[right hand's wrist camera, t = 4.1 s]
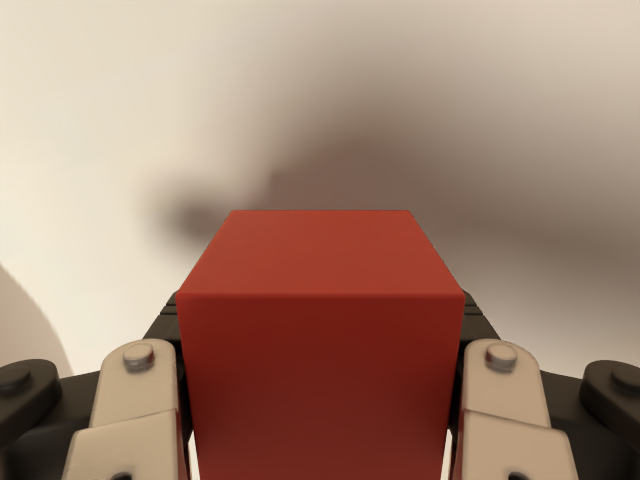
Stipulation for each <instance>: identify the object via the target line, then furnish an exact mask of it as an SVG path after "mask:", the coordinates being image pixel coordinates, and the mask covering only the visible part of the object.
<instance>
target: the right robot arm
mask: <svg viewBox="0 0 640 480" xmlns="http://www.w3.org/2000/svg"><path fill="white" fill-rule="evenodd" d="M462 291H463V292H464V294H465V297H466V298H465V306H464V313H463V320H462V327H461V334H460V342H459V349H458V356H457V363H456V370H455V378H454V385H453V392H452V399H451V407H450V414H449V421H448V428H447V429H450V431H451V434H452V443H451V449H450V460H449V473H448V480H640V368H638V367H636V366H633V365H630V364H626V363H623V362H618V361H610V360H600V361H594V362H592V363H590V364H588V365H587V366H586V368H585V371H584V375H583V379H578V378H573V377H568V376H563V375H558V374H553V373H549V372H545V371H542V370H539V365H538V362H537V361H536V359H535V358H534V357H533V356H532V355H531V354H530V353H529V352H528V351H526V350H525V349H523V348H522V347H520V346H518V345H515V344H513V343H510V342H507V341H503V340H501V339H500V337H499V336H498V335H497V333H496V332H495V330H494V329H493V327H492V326H491V324H490V323H489V321H488V320H487V319H486V317H485V316H483V313H482V311H481V310H480V308H479V307H477V304H476V303H475V301H474V300H473V298H472V297H471V295H470V294H469V293H467V292H466V291H464V290H463V289H462ZM177 292H178V291H176V292H175V293H173V294H172V296H171V297H170V299H169V300H168V302H167V303H166V306H164V308H163V309H162V311H161V312H160V315H158V316H157V318H156V319H155V321H154V322H153V324H152V325H151V327H150V328H149V330H148V331H147V333H146V334H145V336H144V337H143V339H142V340H137V341H133V342H130V343H127V344H125V345H122V346H120V347H118V348H117V349H115V350H114V351H112V352H111V353H110V354H109V355H108V356H107V357H106V358H105V359H104V361H103V363H102V365H101V370H99V371H96V372H92V373H87V374H82V375H77V376H72V377H67V378H62V379H59V375H58V372H57V368H56V366H55V364H53V363H52V362H50V361H48V360H43V359H30V360H23V361H19V362H15V363H11V364H8V365H5V366H3V367H1V368H0V480H192V473H191V460H190V449H189V443H188V442H189V440H190V437H191V434H192V431H193V424H192V416H191V409H190V402H189V395H188V387H187V380H186V373H185V366H184V358H183V351H182V344H181V337H180V329H179V322H178V315H177V308H176V301H175V296H176V293H177Z"/></svg>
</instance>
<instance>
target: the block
mask: <svg viewBox="0 0 640 480" xmlns="http://www.w3.org/2000/svg"><path fill="white" fill-rule="evenodd" d="M465 298H466V297H465V294H464V292H463V291H462V289H461V288H460V286H459V285H458V283H457V282H456V280H455V279H454V277H453V276H452V274H451V273H450V271H449V270H448V268H447V267H446V265H445V264H444V262H443V261H442V259H441V258H440V256H439V255H438V253H437V252H436V250H435V249H434V247H433V246H432V244H431V243H430V241H429V240H428V238H427V237H426V235H425V234H424V232H423V231H422V229H421V228H420V226H419V225H418V223H417V222H416V220H415V219H414V217H413V216H412V214H411V213H410V211H408V210H233V211H231V212H230V214H229V215H228V217H227V218H226V220H225V221H224V223H223V224H222V226H221V227H220V229H219V230H218V232H217V233H216V235H215V236H214V238H213V239H212V241H211V242H210V244H209V245H208V247H207V248H206V250H205V251H204V253H203V254H202V256H201V257H200V259H199V260H198V262H197V263H196V265H195V266H194V268H193V269H192V271H191V272H190V274H189V275H188V277H187V278H186V280H185V281H184V283H183V284H182V286H181V287H180V289H179V290H178V292H177V293H176V296H175V301H176V308H177V315H178V322H179V329H180V337H181V344H182V351H183V358H184V366H185V373H186V380H187V387H188V395H189V402H190V409H191V416H192V424H193V431H194V438H195V445H196V452H197V460H198V467H199V474H200V480H440V479H441V471H442V464H443V457H444V450H445V443H446V435H447V428H448V421H449V414H450V407H451V399H452V392H453V385H454V378H455V370H456V363H457V356H458V349H459V342H460V334H461V327H462V320H463V313H464V306H465Z"/></svg>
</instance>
